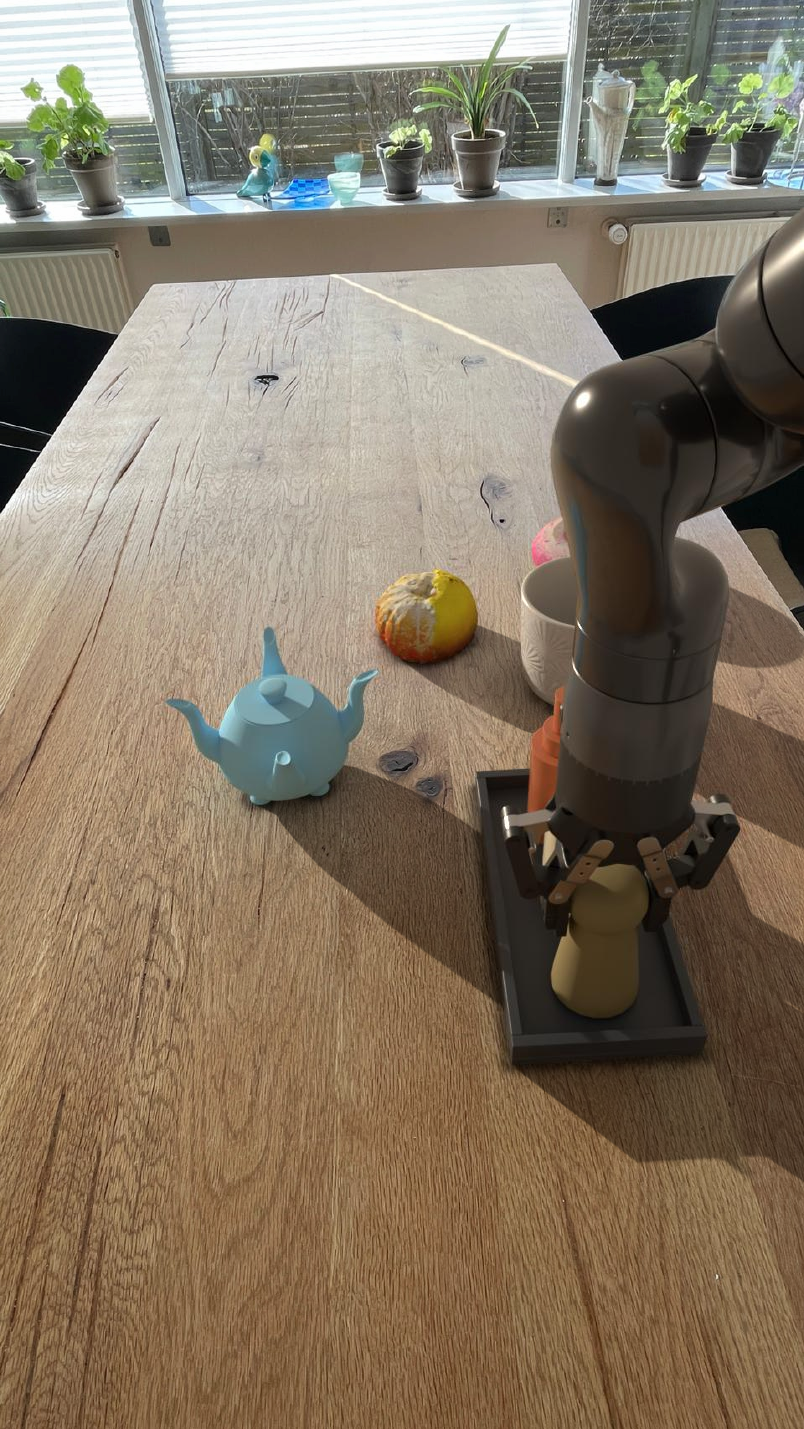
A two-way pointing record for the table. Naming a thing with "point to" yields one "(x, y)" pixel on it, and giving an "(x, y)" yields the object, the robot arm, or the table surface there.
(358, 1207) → the table surface
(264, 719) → the teapot
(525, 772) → the tray
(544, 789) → the terracotta bottle
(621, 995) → the pepper shaker
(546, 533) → the donut
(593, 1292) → the table surface
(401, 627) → the fruit
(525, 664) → the planter
